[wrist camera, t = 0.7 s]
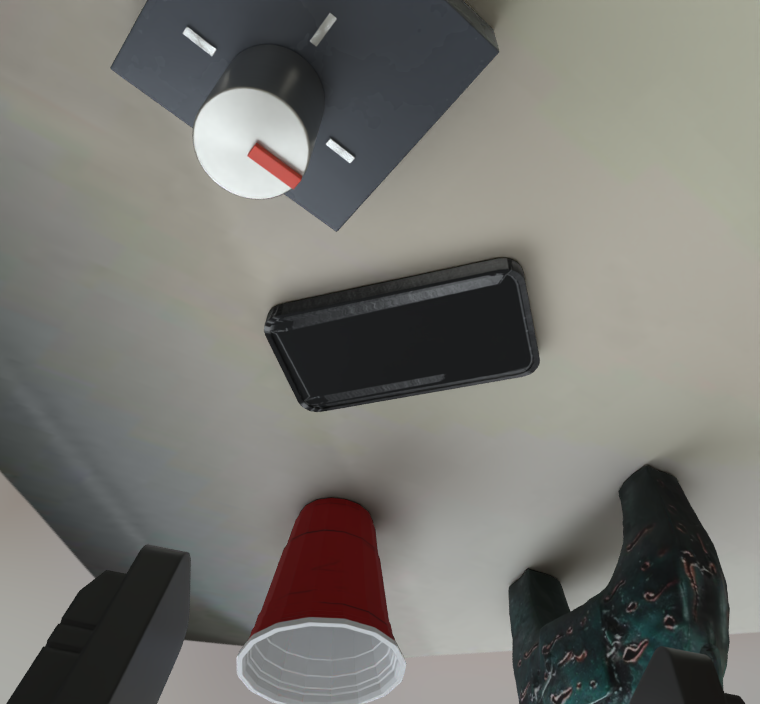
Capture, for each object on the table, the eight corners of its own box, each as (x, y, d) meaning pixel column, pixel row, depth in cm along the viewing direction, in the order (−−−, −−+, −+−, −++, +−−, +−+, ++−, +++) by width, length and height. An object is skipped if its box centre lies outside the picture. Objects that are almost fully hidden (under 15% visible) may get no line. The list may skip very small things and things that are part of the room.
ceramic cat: (542, 610, 60) (582, 899, 45) (476, 589, 59) (494, 881, 43) (704, 477, 48) (833, 807, 33) (627, 446, 47) (725, 778, 32)
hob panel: (124, 60, 32) (100, 84, 30) (264, -190, 26) (248, -186, 24) (333, 213, 37) (326, 245, 34) (494, 30, 31) (500, 53, 28)
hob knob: (202, 103, 30) (168, 156, 26) (258, 20, 28) (229, 63, 24) (287, 166, 32) (266, 224, 28) (345, 91, 30) (333, 143, 26)
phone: (257, 320, 40) (522, 265, 37) (261, 308, 41) (519, 253, 38) (305, 415, 45) (542, 375, 42) (307, 403, 46) (540, 362, 42)
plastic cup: (432, 542, 55) (434, 699, 46) (314, 572, 58) (293, 724, 49) (368, 456, 49) (354, 617, 40) (239, 496, 52) (200, 652, 43)
